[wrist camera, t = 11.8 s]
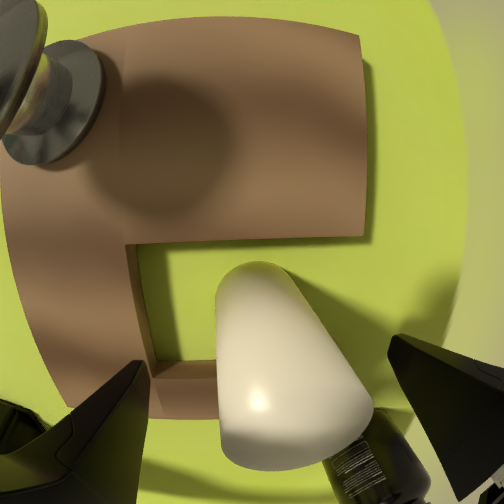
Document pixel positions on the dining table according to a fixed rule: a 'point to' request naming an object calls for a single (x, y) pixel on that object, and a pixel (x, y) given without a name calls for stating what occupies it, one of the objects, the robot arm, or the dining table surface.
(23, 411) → the robot arm
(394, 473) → the supplement bottle
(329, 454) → the cream peg
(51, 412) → the dining table surface
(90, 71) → the bobbin
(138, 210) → the notched board
